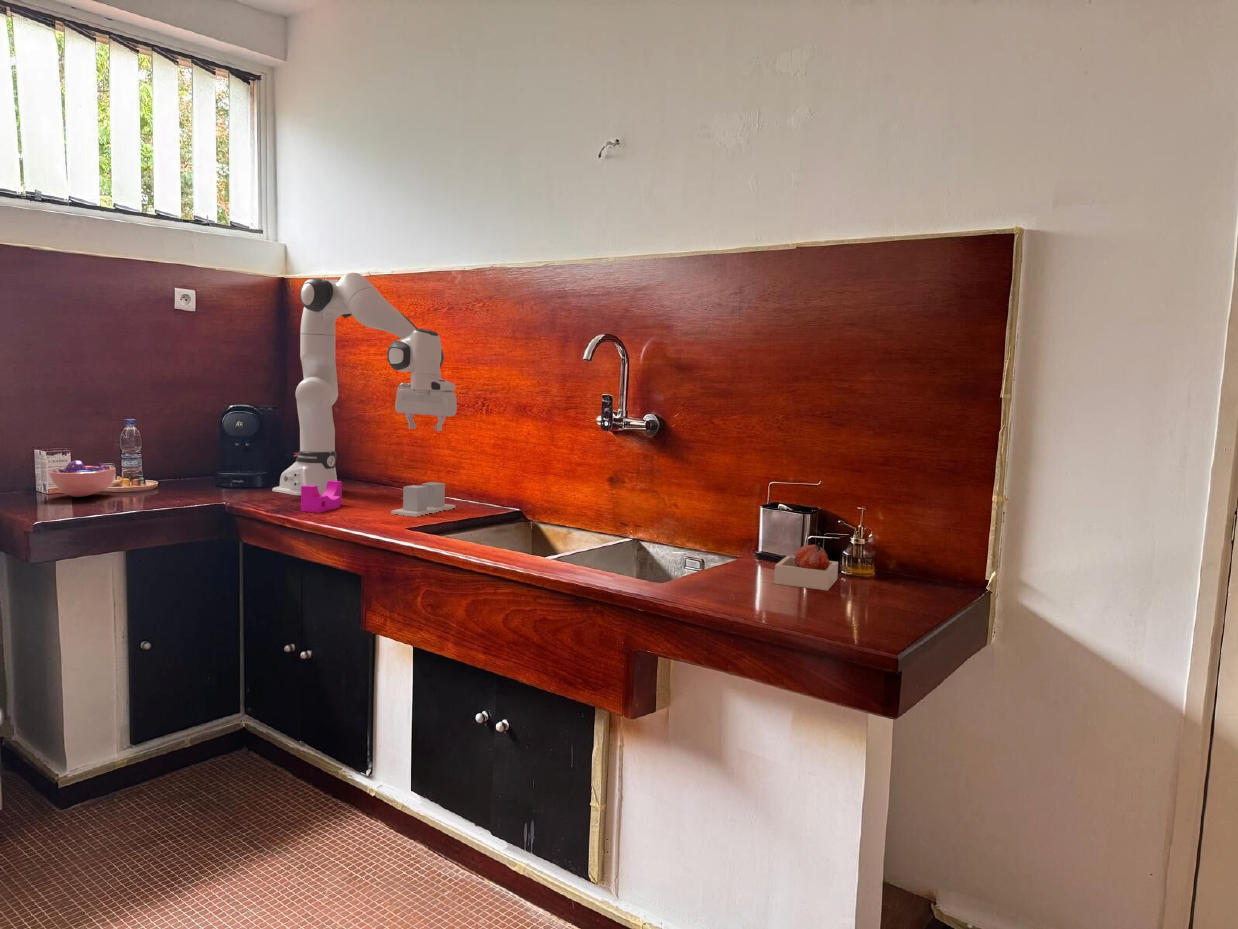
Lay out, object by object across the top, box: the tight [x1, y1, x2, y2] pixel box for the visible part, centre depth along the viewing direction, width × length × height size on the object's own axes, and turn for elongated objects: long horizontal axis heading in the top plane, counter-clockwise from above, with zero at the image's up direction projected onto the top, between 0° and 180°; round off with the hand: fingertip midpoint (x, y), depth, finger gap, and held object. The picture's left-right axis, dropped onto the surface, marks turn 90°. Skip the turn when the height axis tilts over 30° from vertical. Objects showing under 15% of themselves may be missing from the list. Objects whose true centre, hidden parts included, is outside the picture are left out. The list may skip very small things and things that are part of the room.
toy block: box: [300, 480, 343, 514], centre depth 265 cm, size 15×6×8 cm, turn 164°
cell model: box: [48, 459, 116, 498], centre depth 271 cm, size 17×20×11 cm
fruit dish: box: [773, 555, 839, 591], centre depth 191 cm, size 12×12×4 cm
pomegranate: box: [794, 542, 830, 570], centre depth 189 cm, size 7×7×10 cm
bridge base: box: [390, 481, 457, 518], centre depth 264 cm, size 9×20×8 cm, turn 156°
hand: (425, 429), depth 262 cm, fingers open, 8 cm apart
